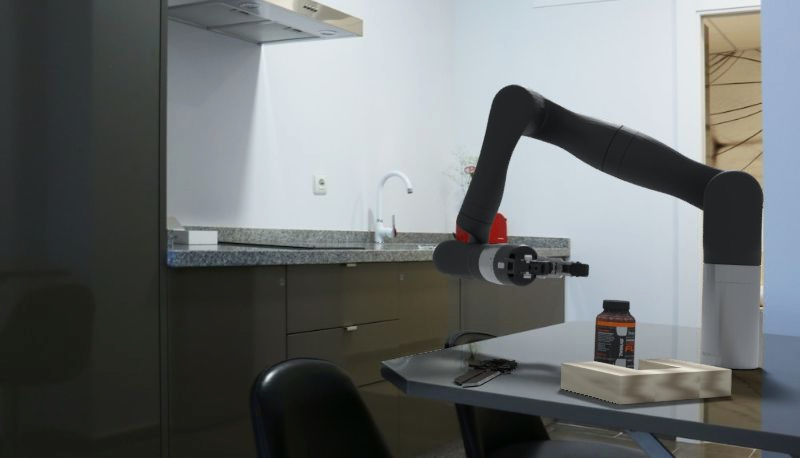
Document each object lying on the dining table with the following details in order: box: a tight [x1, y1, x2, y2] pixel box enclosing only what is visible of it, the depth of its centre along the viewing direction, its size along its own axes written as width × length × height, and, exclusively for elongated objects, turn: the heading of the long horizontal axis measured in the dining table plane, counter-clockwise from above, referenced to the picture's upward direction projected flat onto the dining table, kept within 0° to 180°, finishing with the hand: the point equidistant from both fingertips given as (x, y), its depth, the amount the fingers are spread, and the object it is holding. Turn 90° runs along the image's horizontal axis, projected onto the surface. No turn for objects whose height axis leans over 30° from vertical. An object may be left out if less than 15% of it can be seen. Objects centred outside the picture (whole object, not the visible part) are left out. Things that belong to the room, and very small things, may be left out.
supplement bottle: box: [593, 299, 637, 369], centre depth 127 cm, size 6×6×11 cm
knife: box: [453, 358, 518, 387], centre depth 122 cm, size 25×6×1 cm, turn 154°
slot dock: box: [560, 357, 733, 405], centre depth 112 cm, size 20×11×4 cm, turn 119°
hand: (567, 269), depth 137 cm, fingers open, 8 cm apart
